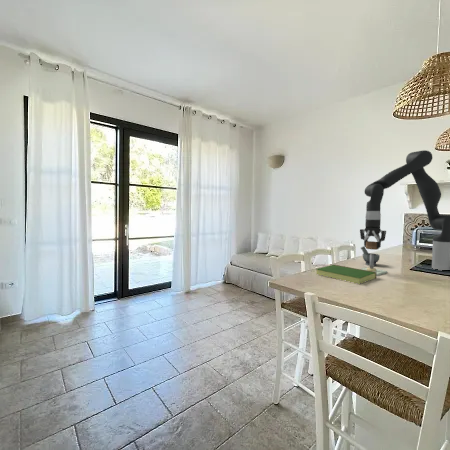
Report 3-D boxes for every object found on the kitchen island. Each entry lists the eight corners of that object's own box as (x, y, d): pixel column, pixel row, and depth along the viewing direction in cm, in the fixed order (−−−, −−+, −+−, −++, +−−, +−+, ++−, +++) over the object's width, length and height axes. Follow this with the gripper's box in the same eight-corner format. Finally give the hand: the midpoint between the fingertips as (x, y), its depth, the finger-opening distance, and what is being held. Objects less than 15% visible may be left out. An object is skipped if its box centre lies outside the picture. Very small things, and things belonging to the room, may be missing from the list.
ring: (369, 247, 151) (369, 241, 150) (380, 248, 146) (380, 242, 145) (364, 248, 147) (364, 241, 147) (374, 249, 142) (375, 242, 142)
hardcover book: (376, 279, 135) (376, 272, 134) (359, 285, 124) (359, 278, 123) (332, 270, 155) (332, 264, 155) (314, 275, 144) (314, 268, 143)
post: (366, 268, 156) (366, 251, 155) (387, 272, 146) (387, 254, 145) (355, 271, 149) (356, 253, 148) (377, 275, 139) (377, 256, 138)
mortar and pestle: (380, 264, 168) (380, 246, 167) (378, 266, 160) (378, 248, 160) (361, 262, 175) (361, 245, 174) (358, 264, 167) (359, 246, 167)
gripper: (389, 219, 142) (388, 248, 142) (363, 218, 153) (363, 245, 154) (383, 219, 137) (382, 249, 138) (357, 218, 149) (356, 246, 150)
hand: (372, 247), depth 146 cm, fingers closed on ring, 6 cm apart
